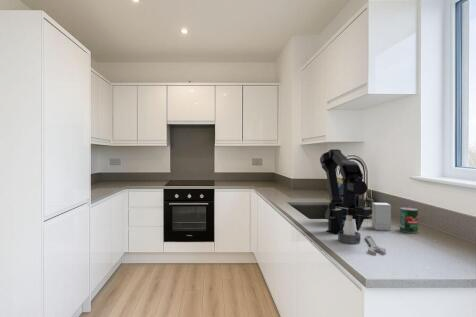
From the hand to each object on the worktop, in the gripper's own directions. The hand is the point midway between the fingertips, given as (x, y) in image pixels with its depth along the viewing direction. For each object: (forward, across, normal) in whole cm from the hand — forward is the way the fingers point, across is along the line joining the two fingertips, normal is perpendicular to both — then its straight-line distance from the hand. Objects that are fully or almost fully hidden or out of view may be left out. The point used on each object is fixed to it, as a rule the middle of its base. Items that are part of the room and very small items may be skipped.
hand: (349, 228), depth 133 cm
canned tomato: (+6, -2, -40) cm, 40 cm away
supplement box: (+6, +8, -33) cm, 34 cm away
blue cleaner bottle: (+6, +25, -22) cm, 34 cm away
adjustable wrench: (+6, -10, -3) cm, 12 cm away
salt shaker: (+6, 0, 0) cm, 6 cm away
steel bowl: (+6, 0, 0) cm, 6 cm away
